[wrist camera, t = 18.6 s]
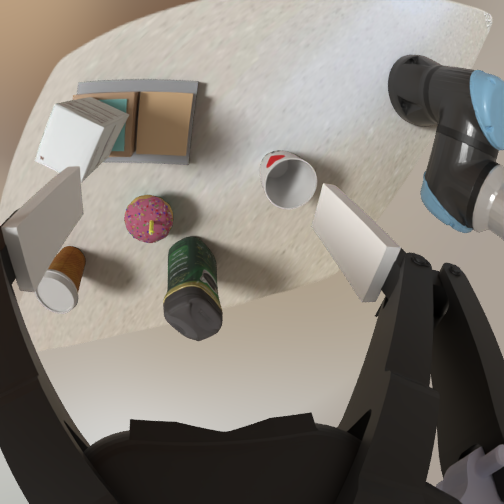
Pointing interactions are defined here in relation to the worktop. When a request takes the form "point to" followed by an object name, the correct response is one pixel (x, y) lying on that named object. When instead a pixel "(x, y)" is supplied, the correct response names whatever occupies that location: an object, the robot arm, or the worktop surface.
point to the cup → (287, 179)
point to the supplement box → (80, 135)
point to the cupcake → (148, 218)
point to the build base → (148, 117)
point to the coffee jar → (192, 290)
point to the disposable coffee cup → (62, 281)
